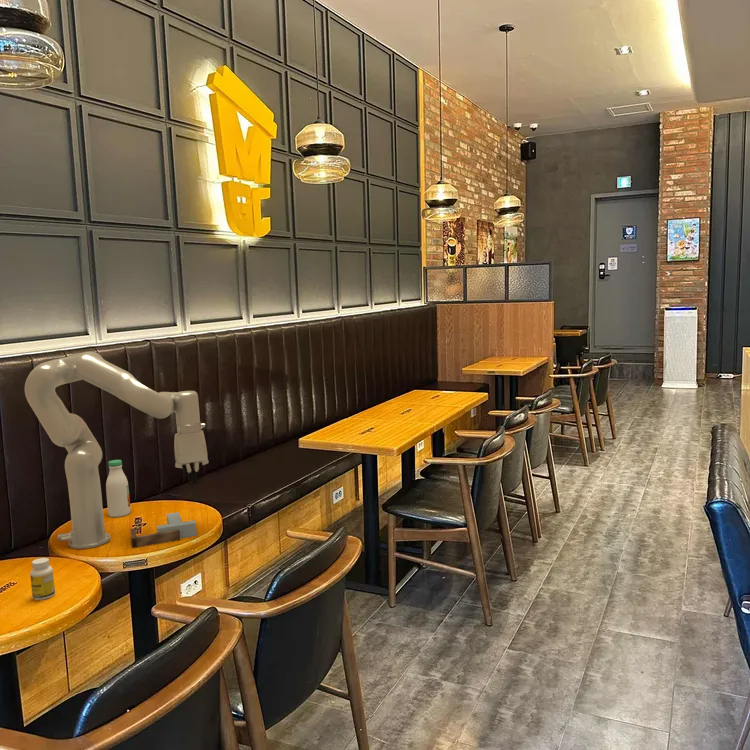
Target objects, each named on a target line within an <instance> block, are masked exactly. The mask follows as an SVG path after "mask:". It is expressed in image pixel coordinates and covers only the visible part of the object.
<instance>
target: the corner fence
mask: <svg viewBox="0 0 750 750" xmlns="http://www.w3.org/2000/svg"><path fill="white" fill-rule="evenodd" d="M129 531H130V540H131V547H132V548H133V549H135V548H140V546H141V547H146V546H145V545H147V546H151V545H152V544H153V545H158V544H157V543H159V544H164V542H165V543H170V542H169V541H171V542H176V540H177V541H181V539H180V531H179V530H173V531H167V532H161V533H157V532H156V533H149V534H144V535H137V531H136V528H134V527H133V528H130V530H129ZM134 547H135V548H134Z"/></svg>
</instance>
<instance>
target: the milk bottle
mask: <svg viewBox="0 0 750 750" xmlns="http://www.w3.org/2000/svg"><path fill="white" fill-rule="evenodd" d="M107 464H108V468H109V472H108V476H107V479H106V483H105V492H106V503H107V504H106V505H107V515H108V516H109V517H110V518H121V517H124V516H128V515H130V514H131V499H130V489H129V482H128V478H127V476H126V475H125V472H124V470H123V468H122V467H123V461H122V459H113V460H109V461H108V462H107Z"/></svg>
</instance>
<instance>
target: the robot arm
mask: <svg viewBox="0 0 750 750" xmlns="http://www.w3.org/2000/svg"><path fill="white" fill-rule="evenodd" d="M82 380H83V381H85V382H87V383H89V384H91V385H93V386H95V387H98V388H100V389H101V390H103V391H105V392H107V393H108V394H111V395H113V396H115V397H117V398H118V399H119V400H121V401H123V402H125V403H126V404H128V405H130V406H131V407H133V408H134V409H137V410H139V411H141V412H143V413H145V414H147V415H149V416H151V417H153V418H155V419H165V418H167V417H169V416H170V415H171V414H172V413H175V421H176V432H177V433H174V447H173V449H174V459H175V464H174V467H175V468H178V469H184V470H185V471H186V472H187V477H188V482H190V483H191V485H194V484H195V485H197V481H199V474H198V472H199V471H200V469H201V468H202V466H205V465H207V464H209V459H208V450H207V443H206V438H205V437H206V436H205V433H204V430H202V429H204V428H206V423H205V422H203V423H202V422H201V418H200V406H199V405H200V404H199V395H198V392H196V391H195V390H184V391H183V390H182V391H178V392H175V391H172V392H170V391H160V392H157V391H155V390H153V389H151V388H149V387H148V386H146V385H144V384H142V383H141V382H140V381H139V380H137V378H136V377H134V375H133V374H132V373H130V372H129V371H127V370H125V369H123V368H121V367H119V366H117V365H115V364H113V363H111V362H109V361H107V360H106V359H104V358H103V357H102V356H101V354H99V353H98V352H94V351H85V352H82V353H78V354H74V355H70V356H65V357H62V358H61V357H60V358H56V359H52V360H48V361H45V362H42V363H39V364H38V365H36V366H35V367H34V368H33V369H32V370H31V371H30V372H29V374H28V376H27V378H26V380H25V383H24V395H25V398H26V401H27V402H28V404H29V406H30V408H31V409H32V411H33V412H34V415H35V416H36V417H37V419H38V421H39V422H40V425H41V426H42V427H43V429H44V430H45V433H46V434H47V435H48V437H49V439H50V440H51V442H52V443H53V444H54V445H56V446H58V447H61V448H65V450H66V451H67V455H66V457H65V460H64V471H65V476H66V481H67V489H68V498H69V506H70V520H71V530H70V531H68V532H67V533H59V534H57V541H61V542H65V541H68V543H67V544H68V547H69V548H71V549H75V550H76V549H77V550H81V549H84V548H85V549H91V548H96V547H100V546H103V545H104V544H105V545H106V544H107V543H108V542H110V540H111V534H109V533H107V532H106V530H105V520H104V519H105V518H104V517H105V516H104V509H103V496H102V487H101V479H100V473H99V465H100V464H101V462H102V459H103V450H102V447H101V446H100V444H99V441H97V439H96V437H95V436H94V435H93V433H92V431H91V430H90V428H89V427H88V425H87V423H86V421H84V419H83V418H82V417H81V416H79V415H77V414H75V413H70V412H69V410H68V409H67V408H66V406H65V404H64V402H63V401H62V400H61V398H60V397H59V395H58V393H57V392H56V388H58V387H60V386H62V385H65V384H70V383H74V382H78V381H82ZM190 464H193V469H192V468H191V465H190ZM85 549H84V550H85Z"/></svg>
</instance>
